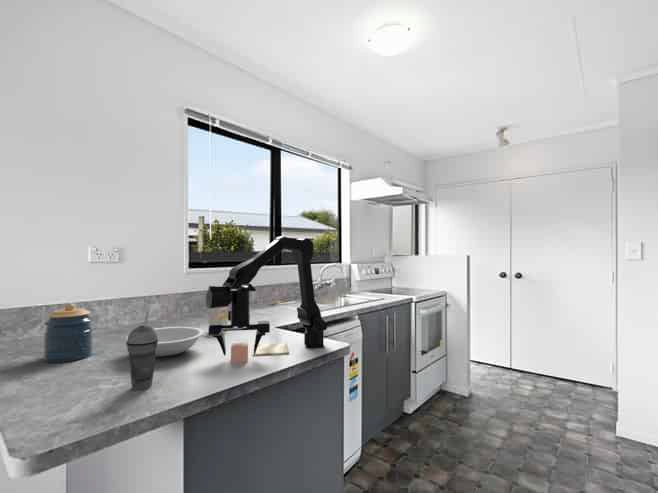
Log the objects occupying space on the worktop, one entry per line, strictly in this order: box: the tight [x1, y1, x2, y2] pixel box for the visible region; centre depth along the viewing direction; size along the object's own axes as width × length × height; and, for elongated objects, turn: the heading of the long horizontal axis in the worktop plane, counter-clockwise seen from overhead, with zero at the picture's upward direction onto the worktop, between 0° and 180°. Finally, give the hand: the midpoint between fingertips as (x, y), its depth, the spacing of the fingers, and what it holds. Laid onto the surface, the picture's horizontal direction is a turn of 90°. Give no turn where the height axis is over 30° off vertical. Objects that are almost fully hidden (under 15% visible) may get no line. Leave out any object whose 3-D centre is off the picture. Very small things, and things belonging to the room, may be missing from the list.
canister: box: [42, 302, 94, 363], centre depth 115 cm, size 13×13×18 cm
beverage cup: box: [125, 308, 158, 391], centre depth 90 cm, size 7×7×20 cm
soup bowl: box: [125, 326, 205, 357], centre depth 119 cm, size 24×24×7 cm
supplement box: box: [208, 306, 229, 327], centre depth 153 cm, size 8×5×13 cm, turn 168°
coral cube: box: [230, 341, 249, 364], centre depth 113 cm, size 5×5×5 cm
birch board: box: [252, 342, 290, 357], centre depth 125 cm, size 12×12×1 cm
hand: (239, 354), depth 113 cm, fingers open, 9 cm apart
